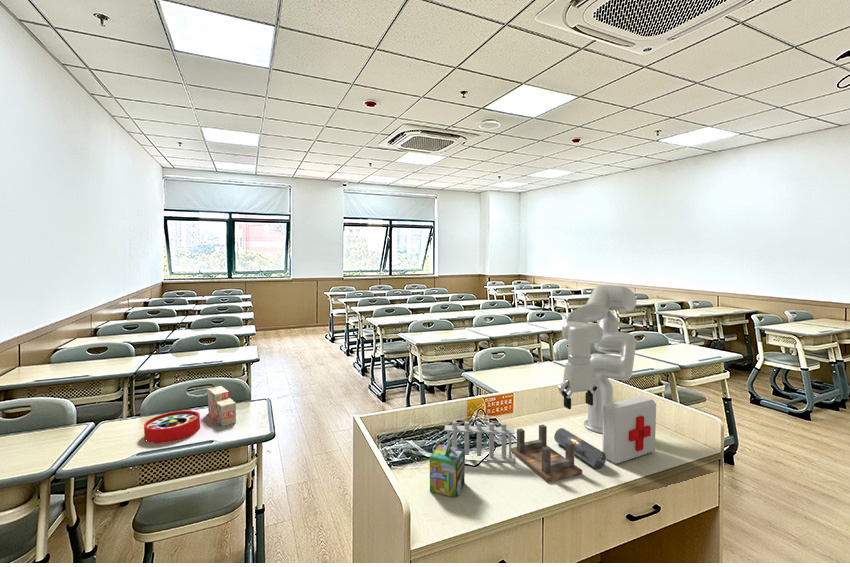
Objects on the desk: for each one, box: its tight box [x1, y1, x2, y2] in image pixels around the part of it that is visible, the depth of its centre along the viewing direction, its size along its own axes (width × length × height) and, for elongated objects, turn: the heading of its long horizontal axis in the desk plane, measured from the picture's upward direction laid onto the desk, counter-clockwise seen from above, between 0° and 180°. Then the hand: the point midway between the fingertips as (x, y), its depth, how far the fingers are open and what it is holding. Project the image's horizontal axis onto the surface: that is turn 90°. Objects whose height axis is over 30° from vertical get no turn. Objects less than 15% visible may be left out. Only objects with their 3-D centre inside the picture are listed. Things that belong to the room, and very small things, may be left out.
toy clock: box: [143, 410, 201, 444], centre depth 168 cm, size 20×6×20 cm
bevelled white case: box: [601, 395, 657, 465], centre depth 143 cm, size 21×8×20 cm, turn 115°
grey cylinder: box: [553, 427, 607, 469], centre depth 145 cm, size 6×20×6 cm, turn 20°
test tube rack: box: [443, 420, 516, 464], centre depth 143 cm, size 25×4×13 cm, turn 83°
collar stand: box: [511, 424, 583, 484], centre depth 140 cm, size 14×22×10 cm, turn 20°
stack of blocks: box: [206, 385, 237, 427], centre depth 183 cm, size 21×6×12 cm, turn 43°
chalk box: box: [429, 440, 466, 498], centre depth 125 cm, size 9×9×15 cm
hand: (578, 406), depth 144 cm, fingers open, 9 cm apart
